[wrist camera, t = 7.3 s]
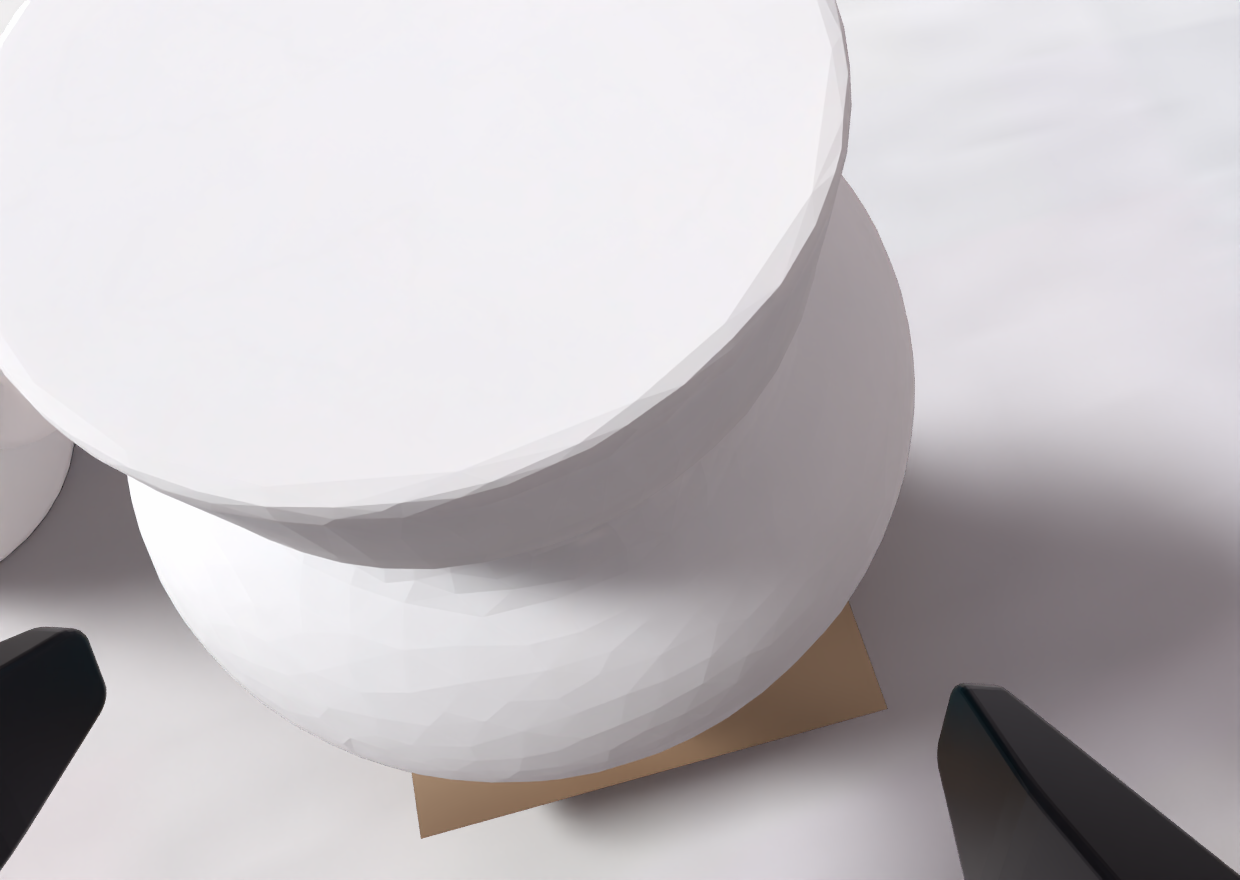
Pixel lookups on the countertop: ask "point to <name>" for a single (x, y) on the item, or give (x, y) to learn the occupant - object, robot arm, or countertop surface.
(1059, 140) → the countertop surface
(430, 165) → the pill bottle
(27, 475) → the mug
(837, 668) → the square wooden stand
